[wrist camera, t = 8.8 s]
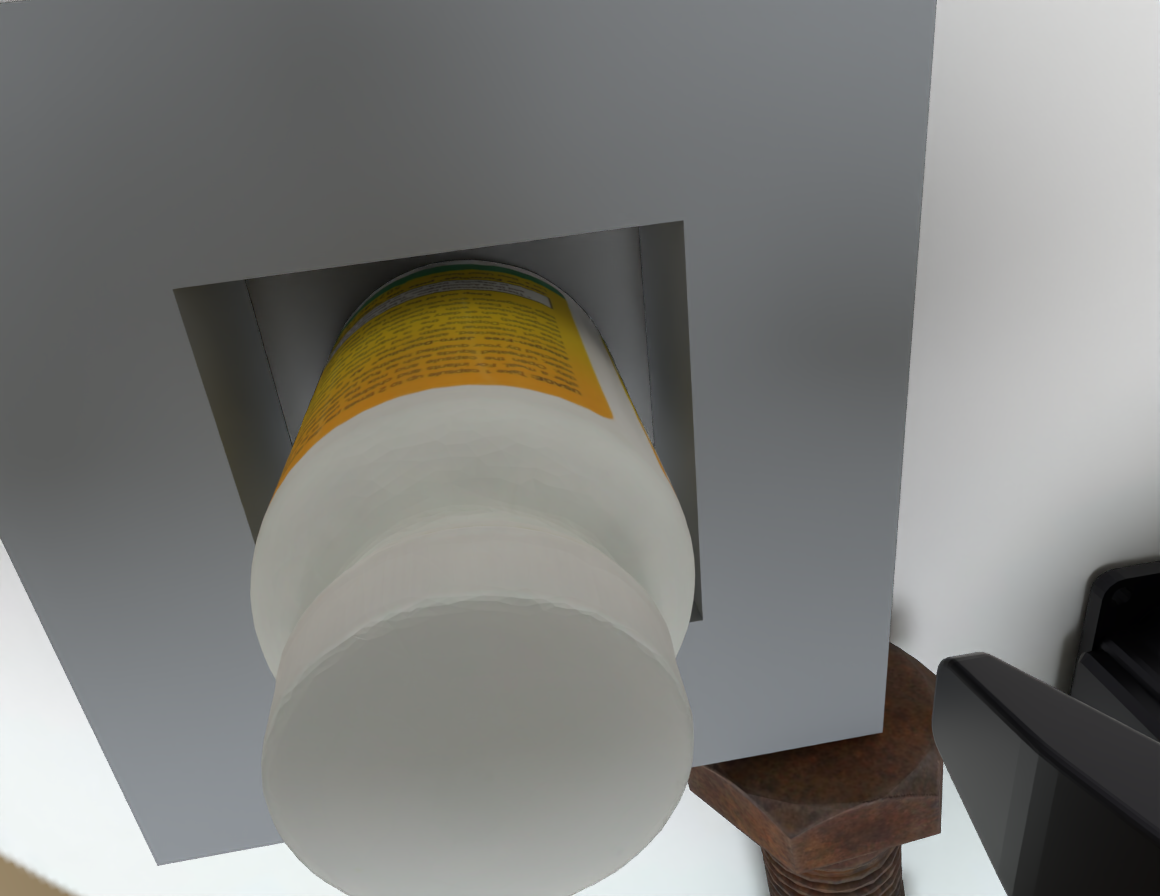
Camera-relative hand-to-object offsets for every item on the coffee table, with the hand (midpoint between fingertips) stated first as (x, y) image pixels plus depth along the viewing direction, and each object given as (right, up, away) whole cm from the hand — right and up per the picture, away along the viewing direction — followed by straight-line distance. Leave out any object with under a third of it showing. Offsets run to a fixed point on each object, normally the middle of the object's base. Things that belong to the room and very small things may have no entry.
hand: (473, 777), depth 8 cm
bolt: (+7, -8, +16) cm, 19 cm away
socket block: (-1, +4, +9) cm, 10 cm away
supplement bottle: (-1, +4, +9) cm, 10 cm away
